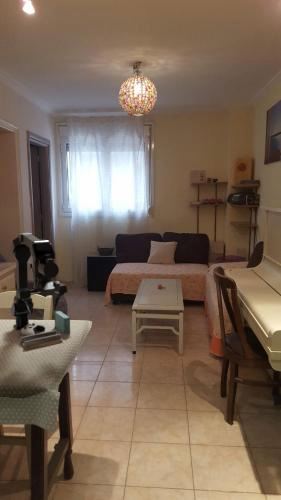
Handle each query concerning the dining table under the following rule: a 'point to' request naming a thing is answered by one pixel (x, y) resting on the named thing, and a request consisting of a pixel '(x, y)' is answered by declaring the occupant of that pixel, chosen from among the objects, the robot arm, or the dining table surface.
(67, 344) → the dining table surface
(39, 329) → the gaming controller
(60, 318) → the door panel
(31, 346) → the track
